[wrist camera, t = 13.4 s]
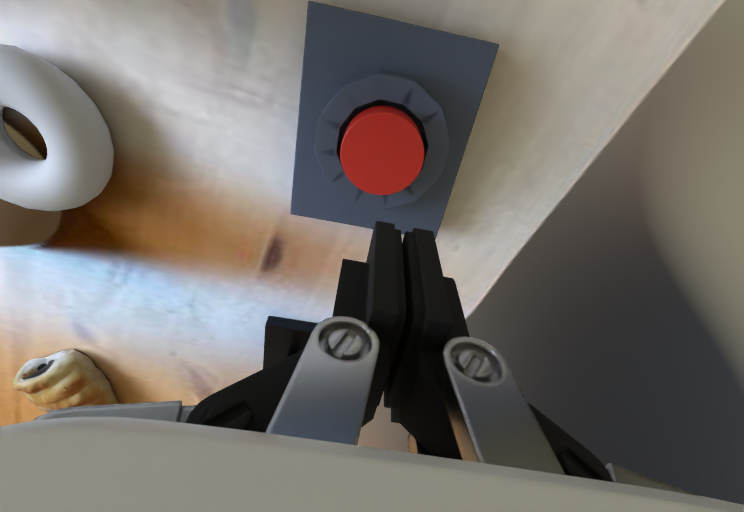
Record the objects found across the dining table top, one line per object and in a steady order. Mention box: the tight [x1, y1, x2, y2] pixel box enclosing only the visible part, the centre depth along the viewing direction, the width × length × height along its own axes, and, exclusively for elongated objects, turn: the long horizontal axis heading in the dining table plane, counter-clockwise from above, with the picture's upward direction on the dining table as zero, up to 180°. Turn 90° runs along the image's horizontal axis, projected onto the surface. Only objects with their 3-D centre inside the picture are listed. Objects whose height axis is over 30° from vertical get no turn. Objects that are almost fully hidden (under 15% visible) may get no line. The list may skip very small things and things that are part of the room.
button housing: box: [290, 1, 499, 239], centre depth 23 cm, size 12×10×4 cm
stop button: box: [340, 106, 424, 195], centre depth 20 cm, size 4×4×2 cm
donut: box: [0, 44, 114, 211], centre depth 23 cm, size 10×4×10 cm
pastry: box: [13, 349, 118, 412], centre depth 37 cm, size 9×7×4 cm
